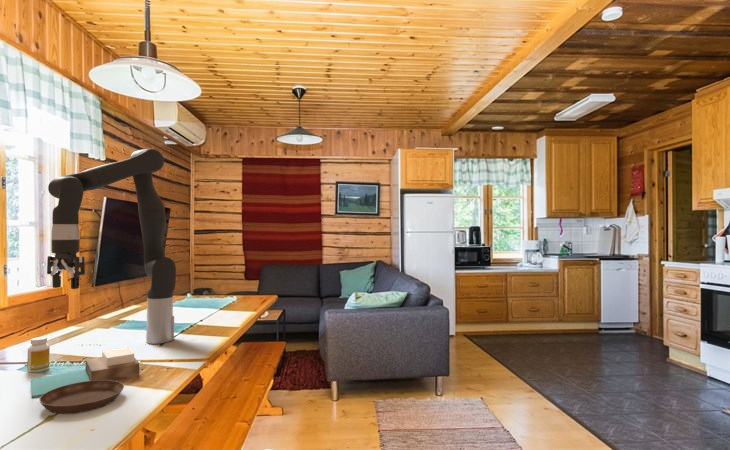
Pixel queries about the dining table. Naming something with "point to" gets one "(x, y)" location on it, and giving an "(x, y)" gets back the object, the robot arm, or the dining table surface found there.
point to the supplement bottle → (38, 355)
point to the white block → (117, 356)
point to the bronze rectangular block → (111, 370)
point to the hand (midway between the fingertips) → (65, 288)
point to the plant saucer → (81, 396)
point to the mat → (56, 382)
